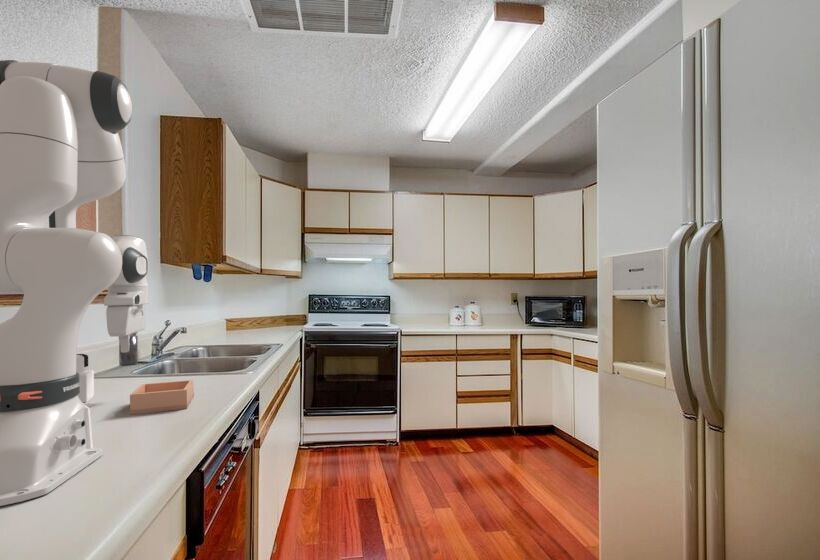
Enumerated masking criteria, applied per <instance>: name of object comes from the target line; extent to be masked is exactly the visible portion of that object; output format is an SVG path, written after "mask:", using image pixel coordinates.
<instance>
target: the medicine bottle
mask: <svg viewBox="0 0 820 560" xmlns="http://www.w3.org/2000/svg"><path fill="white" fill-rule="evenodd" d="M76 372H77V373H79V379H80V393H79V394H78V397H79V399H80V401H81V402H82V403H83V404H85V403H87V402H88V401H90V400H91V399H92V398H93V397H95V370H94V369H89V355H88V354H86V353H76Z"/></svg>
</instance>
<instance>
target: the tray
mask: <svg viewBox="0 0 820 560" xmlns="http://www.w3.org/2000/svg"><path fill="white" fill-rule="evenodd" d="M194 383H195V382H194V379H188V380H187V379H186V380H176V381H174V380H173V381H163V382H161V381H160V382H151V383H150V382H149V383H142V384H141V385H139V386H138V387H137V388H136V389H135V390H134V391H133V392H132V393H130V395H129V415H137V414H138V415H139V414H149V413H157V412H167V411H168V412H169V411H179V410H187V409H188V407H189V406H190V404H191V402H192V400H193V399H194V397H195V396H194V395H195V394H194V393H195V392H194V389H195V388H194V385H195V384H194Z"/></svg>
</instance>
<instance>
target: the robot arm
mask: <svg viewBox="0 0 820 560" xmlns="http://www.w3.org/2000/svg"><path fill="white" fill-rule="evenodd" d="M132 112H133V103H132V99H131V96H130V92H129V90H128V88H127V85H125V83H124V82H123V81H122V80H121V79H120V78H119V77H118V76H116V75H113V74H110V73H107V72H104V71H100V70H95V71H92V70H88V69H87V70H86V69H83V68H78V67H73V66H65V65H60V64H58V63H52V62H37V61H17V60H15V59H6V60H5V59H3V60H0V295H23V298H22V302H21V304H20V307H19V309H18V310H17V311H16V313H15V314H14V315H13V317H11V318H9V319H7V320H5V321H3V322H0V507H2V506H8V505H11V504H15V503H20V502H24V501H28V500H31V499H35V498H38V497H41V496H44V495H47V494H48V493H50V492H51V491H53V490H56V488H58V487H59V486H60V485H62V484H63V483H65V482H66V481H68V480H69V479H71V478H72V477H73V476H74V475H76V474H77V473H79V472H80V471H82V470H83V469H85V468H86V467H87V466H89V465H91V464H92V463H93V462H95V461H96V460H97V459H100V458H101V457H102V456H103V455H104V451H103V448H102V447H97V446H94V445H93V433H92V421H91V420H92V419H91V410H90V407H88V405H87V404H85V403H82V402H81V401H80V399H79V397H78V394H79V393H80V379H79V373H77V372H76V354H78V353H77V350H78V336H79V332H80V331H79V330H80V325H81V324H82V323H81V322H82V320H83V317H84V315H85V313H86V312H87V309H88V308H89V306H90V305H91V304H92V302H93V301H94V300H95V299H96V298H97V297H98V296H99V295H100V294H101V293H102V292H103V291H105V290H106V289H107V294H106V295H105V296H104V298H103V306H104V307H106V311H105V312H106V314H105V316H106V327H107V328H106V329H107V332H108V333H107V334H108V335H109V337H118V341H119V342H120V346H121V352H122V353H123V352H129V351H130V344H129V338H130V334H133V336H138V337H139V332H142V331H145V329H146V309H145V305H148V304H149V284H148V279H147V276H148V272H149V257H148V251H147V250H148V249H147V244H146V242H145V240H144V239H142V238H141V237H138V236H135V235H126V234H121V235H115V236H113V237H111V236H110V235H108V234H106V233H104V232H99V231H94V230H89V229H83V228H79V227H77V210H78V208H79V207H80V206H83V205H85V204H89V203H91V202H95V201H99V200H102V199H105V198H107V197H110V196H111V195H113V194H115V193H116V192H118V191H119V190H120V189H121V188H122V187H123V186H124V184H125V182H126V179H127V169H126V167H127V166H126V162H125V153H124V151H123V146H122V142H121V138H120V135H119V131H121V130H124V129H125V128H126V127H127V126H128V125H129V124H130V122H131V119H132ZM47 220H48V227H44V226H45V224H46V222H47ZM119 342H118V343H119Z"/></svg>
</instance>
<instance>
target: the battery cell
mask: <svg viewBox="0 0 820 560" xmlns="http://www.w3.org/2000/svg"><path fill="white" fill-rule="evenodd" d="M138 338H139V335H138V336H133V334H130V338H129V344H130V351H129V352H123V353H122V352H121V346H120V342H118V345H119V346H118V352H119V354H118V362H119V363H118V365H119V367H129V366H136V365H138V361H139V360H138V359H139V358H138V354H139V353H138V348H139V347H138V343H139V342H138V341H139V339H138Z"/></svg>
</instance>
